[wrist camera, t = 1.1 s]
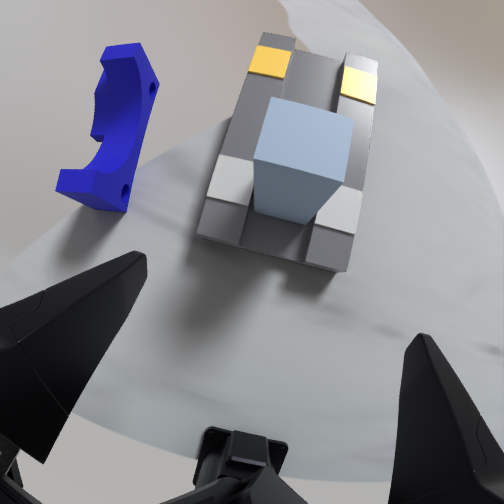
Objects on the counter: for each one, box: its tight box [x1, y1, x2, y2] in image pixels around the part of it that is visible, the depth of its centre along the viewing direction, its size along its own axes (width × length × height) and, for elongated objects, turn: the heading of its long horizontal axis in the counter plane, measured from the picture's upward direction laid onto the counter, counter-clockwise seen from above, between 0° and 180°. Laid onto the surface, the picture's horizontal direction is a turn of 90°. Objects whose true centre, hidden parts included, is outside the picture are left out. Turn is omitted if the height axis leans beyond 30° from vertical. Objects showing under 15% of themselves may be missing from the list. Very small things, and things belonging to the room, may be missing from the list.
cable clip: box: [55, 43, 160, 212], centre depth 20 cm, size 12×4×6 cm, turn 173°
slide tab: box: [253, 97, 354, 225], centre depth 17 cm, size 3×4×10 cm
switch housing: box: [196, 32, 378, 273], centre depth 22 cm, size 18×10×3 cm, turn 165°
